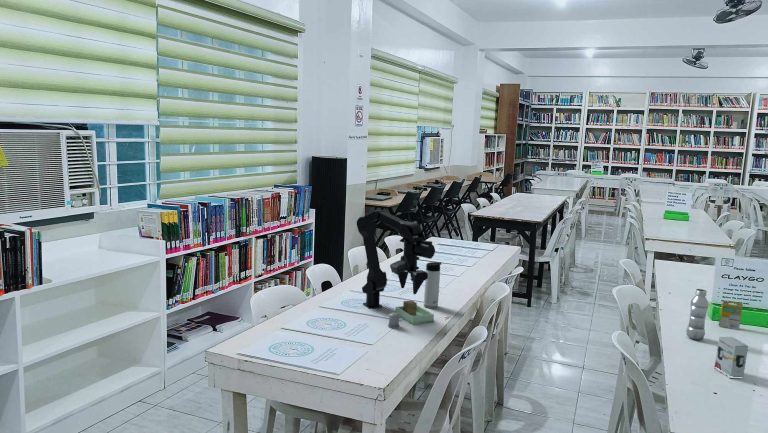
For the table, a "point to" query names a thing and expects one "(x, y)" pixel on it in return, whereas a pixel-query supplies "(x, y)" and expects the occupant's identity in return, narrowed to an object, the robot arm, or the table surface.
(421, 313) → the parts tray
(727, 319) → the crayon box
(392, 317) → the grey domed knob
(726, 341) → the ink box
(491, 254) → the table surface
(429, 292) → the travel mug
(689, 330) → the plastic bottle
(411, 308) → the walnut block
